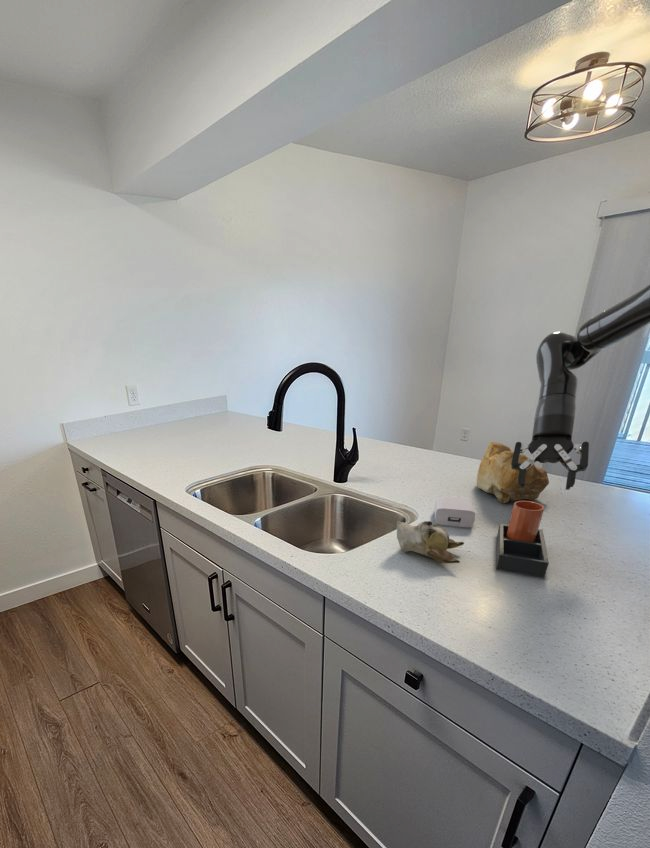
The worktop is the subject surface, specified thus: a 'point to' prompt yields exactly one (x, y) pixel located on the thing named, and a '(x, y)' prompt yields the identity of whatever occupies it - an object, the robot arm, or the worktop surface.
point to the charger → (454, 511)
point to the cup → (525, 521)
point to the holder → (521, 554)
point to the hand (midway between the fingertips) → (544, 487)
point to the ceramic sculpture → (427, 541)
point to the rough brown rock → (508, 475)
